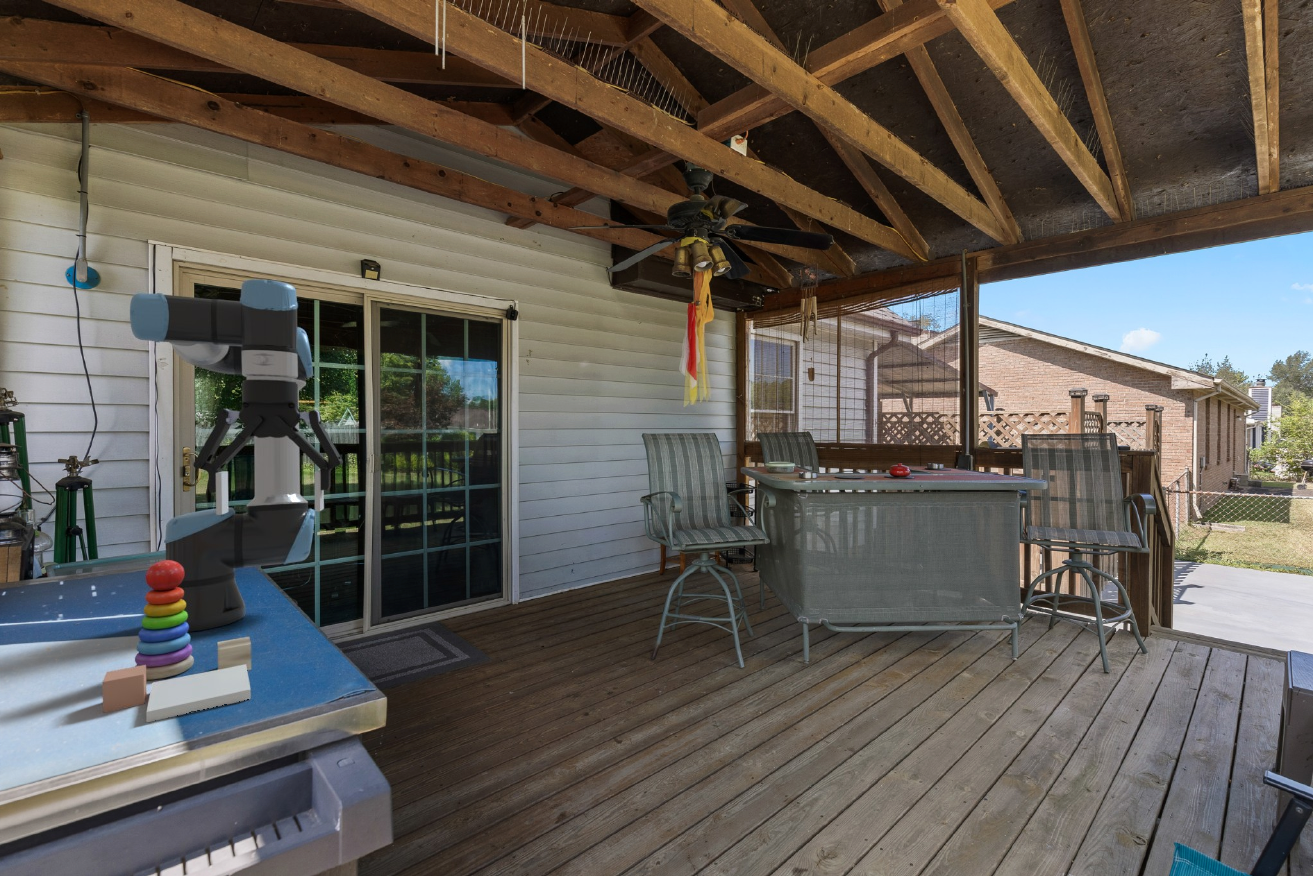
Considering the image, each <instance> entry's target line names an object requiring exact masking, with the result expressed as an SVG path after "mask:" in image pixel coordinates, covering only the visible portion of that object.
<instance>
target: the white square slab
mask: <svg viewBox="0 0 1313 876" xmlns="http://www.w3.org/2000/svg"><path fill="white" fill-rule="evenodd" d="M248 672H249V671H247V666H246V664H245V665H240V666H235V667H229V668H224V669H219V670H218V669H214V670H211V671H204V672H201V673H200V672H199V673H194V674H189V675H185V676H178V677H175V678H170V679H169V678H168V679H164V680H159V681H154V682H152V684H151V688H150V692H149V693H150V694H149V697H148V701H147V702H148V703H147V708H146V723H152V722H155V720H156V721H160V720H164V719H168V717H169V718H172V717H177V715H178V716H182V715H186V713H187V714H190V713H189V712H191V711H196V712H198V711H197V710H200V711H204V710H203V709H205V710H208V709H207V708H209V709H213V707H214V708H217V707H216V706H218V707H221V706H222V705H223V706H225V705H224V704H227V705H230V704H231V705H232V704H235V703H239V701H240V702H244V700H245V701H248V700H247V699H249V700H252V699H251V697H252V694H251V690H252V689H251V683H250V678H249V673H248ZM191 713H192V712H191Z"/></svg>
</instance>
